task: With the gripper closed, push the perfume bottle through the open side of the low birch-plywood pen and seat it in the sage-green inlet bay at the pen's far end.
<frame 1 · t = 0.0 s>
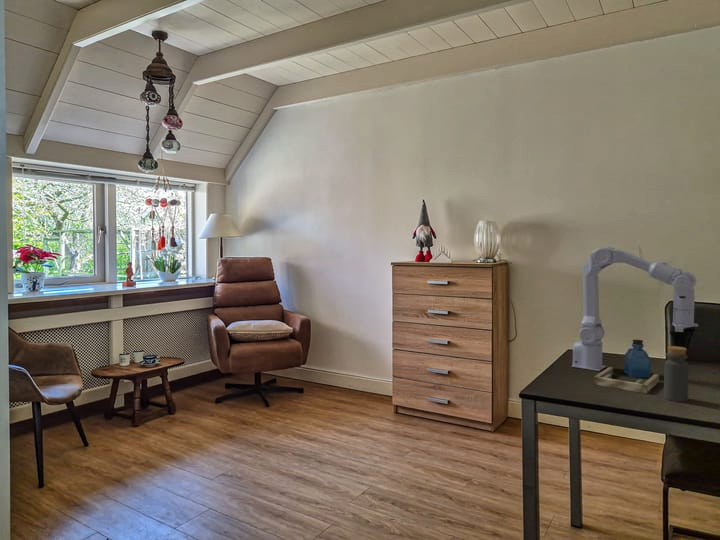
hand: (682, 351, 161), 10 cm above the table, fingers open, 7 cm apart
walled pen: (626, 382, 160), on the table
perfume bottle: (636, 375, 170), on the table
bottle: (675, 399, 144), on the table
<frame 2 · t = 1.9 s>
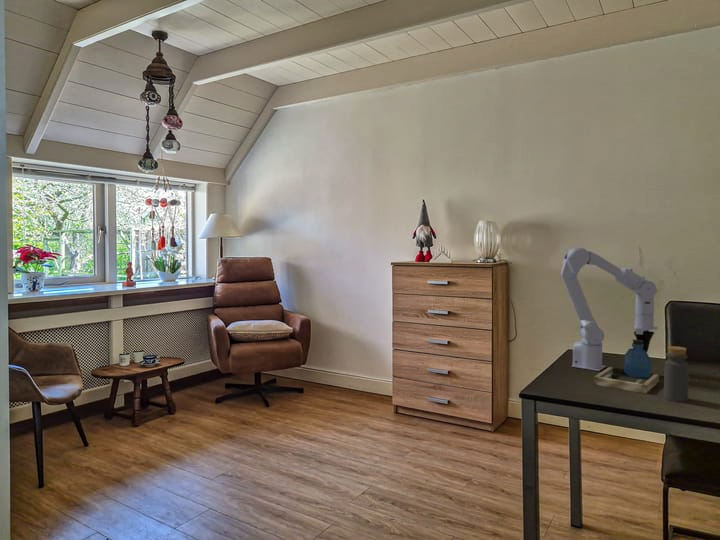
hand: (643, 351, 176), 7 cm above the table, fingers closed
nothing on the table moved.
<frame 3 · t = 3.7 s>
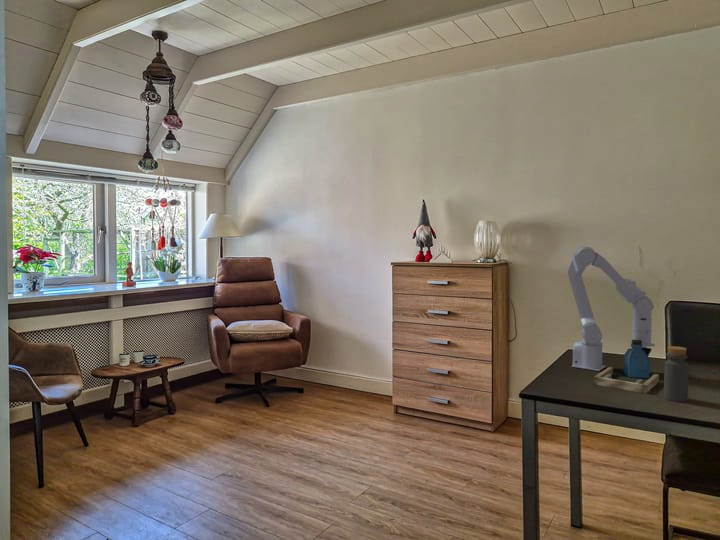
hand: (640, 368, 174), 1 cm above the table, fingers closed
perfume bottle: (635, 375, 169), on the table, touching gripper
everything else where it was.
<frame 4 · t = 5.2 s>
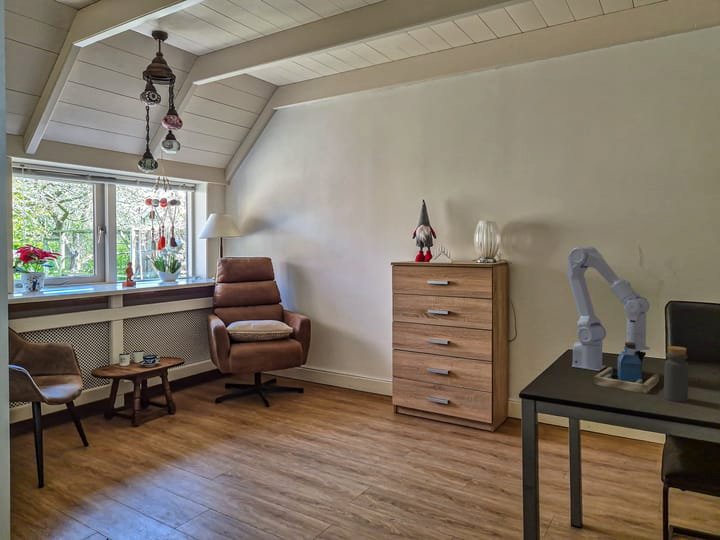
hand: (635, 372, 168), 1 cm above the table, fingers closed, pressing on perfume bottle
perfume bottle: (629, 379, 165), on the table, touching gripper
everything else where it was.
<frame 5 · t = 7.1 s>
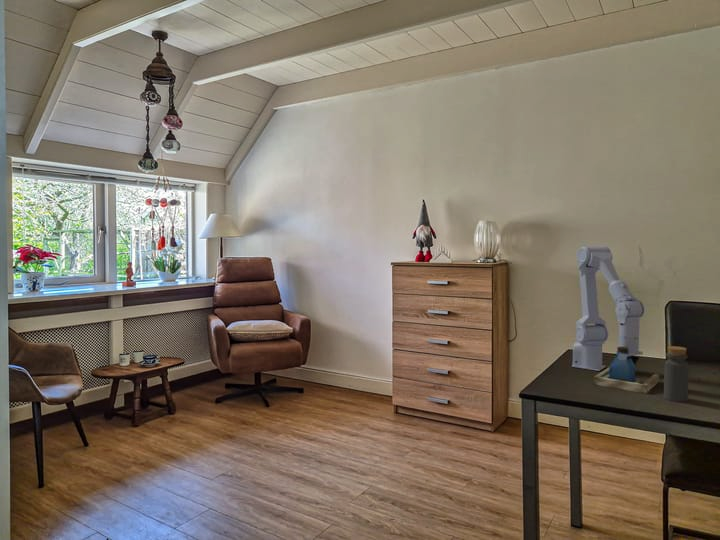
hand: (627, 378, 161), 1 cm above the table, fingers closed
perfume bottle: (621, 385, 158), on the table, touching gripper
everything else where it was.
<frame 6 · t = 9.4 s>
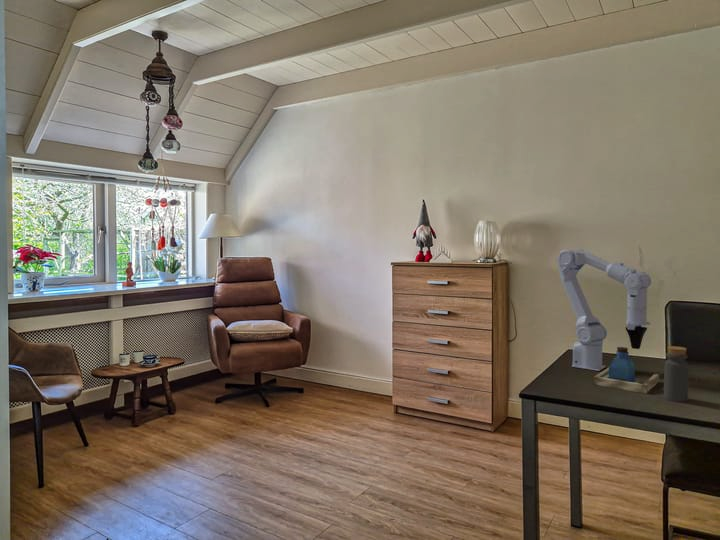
hand: (635, 348, 166), 10 cm above the table, fingers closed
perfume bottle: (621, 385, 158), on the table
everything else where it was.
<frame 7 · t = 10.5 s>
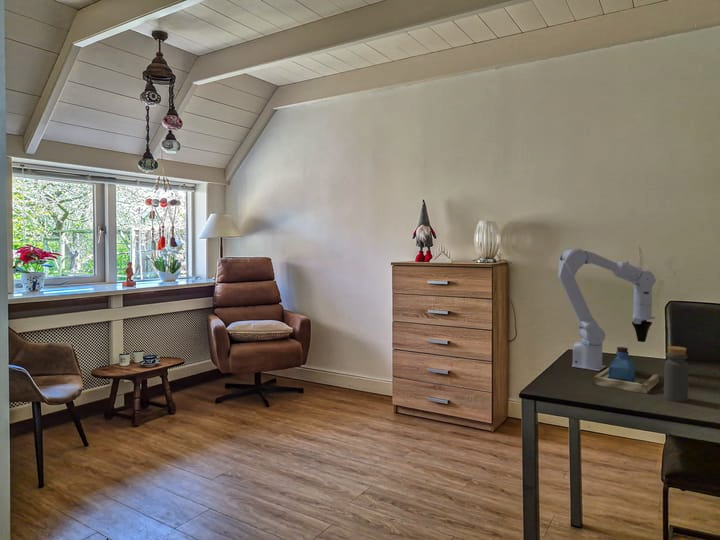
hand: (641, 341, 178), 10 cm above the table, fingers closed
nothing on the table moved.
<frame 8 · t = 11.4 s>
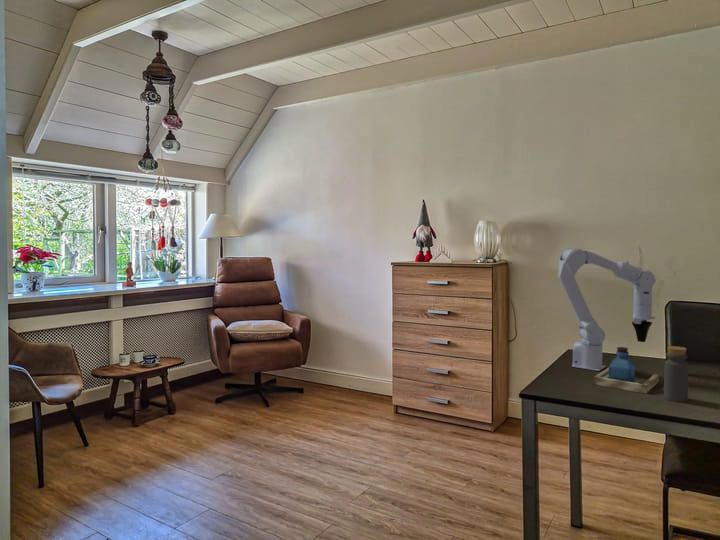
hand: (641, 341, 178), 10 cm above the table, fingers closed
nothing on the table moved.
at the end: perfume bottle inside the target area (0.6 cm from its centre), on the table; perfume bottle tilted 0°; perfume bottle moved 17.0 cm from its start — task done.
